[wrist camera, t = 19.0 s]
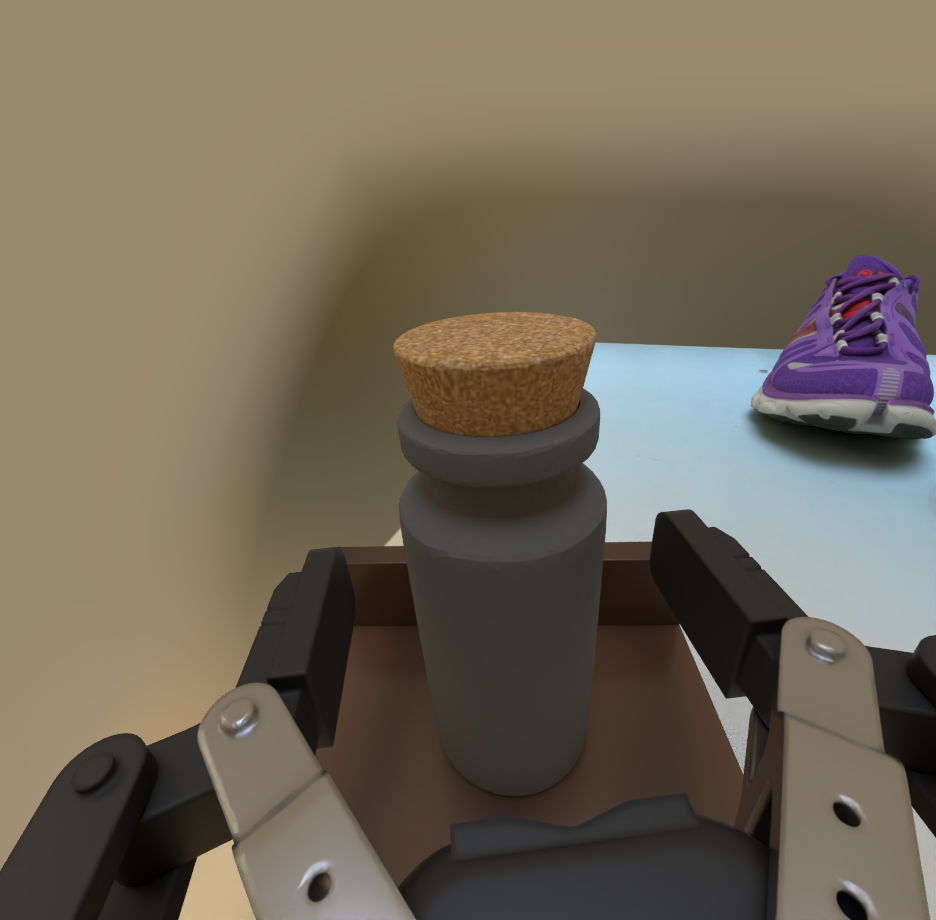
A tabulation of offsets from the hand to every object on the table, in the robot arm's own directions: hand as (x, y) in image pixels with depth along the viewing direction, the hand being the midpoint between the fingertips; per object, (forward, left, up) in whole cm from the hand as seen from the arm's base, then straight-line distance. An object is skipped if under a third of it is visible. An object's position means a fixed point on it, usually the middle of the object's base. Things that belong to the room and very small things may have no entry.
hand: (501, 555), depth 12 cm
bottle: (0, +2, -10) cm, 10 cm away
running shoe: (+37, +41, -15) cm, 57 cm away
